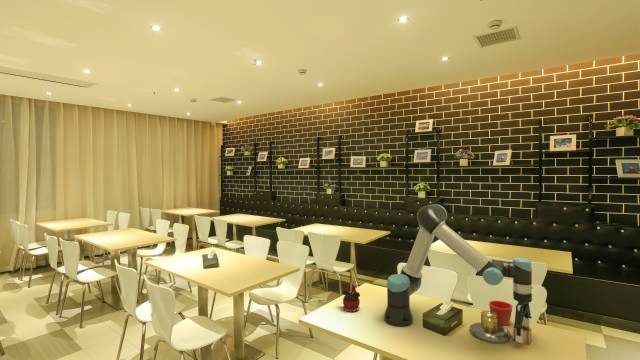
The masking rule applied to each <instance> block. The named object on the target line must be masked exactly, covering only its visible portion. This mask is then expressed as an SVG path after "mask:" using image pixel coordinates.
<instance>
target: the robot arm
mask: <svg viewBox="0 0 640 360" xmlns="http://www.w3.org/2000/svg"><path fill="white" fill-rule="evenodd" d="M447 218H448V212H447V210H446V209H445V207H444V206H442V205H440V204H437V203H432V204H429V205H425V206H422V207H421V208H420V209H419V210H418V211H417V213H416V219H417V222H418V226H419V230H418V233H417V234H416V238H415V240H414V244H413V247H411V248H412V249H411V252H410V254H409V256H408V259H407V262H406V265H404V266H402V268H401V270H400V273H395V274H391V275H390V276H388V278H387V281H386V282H387V283H386V289H387V291H386V295H387V299H386V300H387V301H386V302H387V304H386V308H385V312H384V315H383V318H384V319H383V320H384V322H385V321H386V322H385V323H386V324H388V325H392V326H395V327H400V328H401V327H402V328H403V327H409V326H411V325H412V324H414V316H413V313H412V310H411V307H410V305H411V304H410V300H411V299H410V296H412V295H413V294H414V293H415V292H417V291H418V290H419V289H420V288H421V285H422V278H423V273H422V270H423V267H424V265H425V262H426V260H427V257H428V254H429V251H430V250H431V246H432V245H433V241H434V239H435V237H436V238H437V239H439V241H441V242H442V243H443V244H444V245H445V246H446V247H448V248H449V249H450V250H451V251H453V252H454V253H455V254H456V255H458V257H459V258H461V259H462V260H463V261H464V262H465V263H467V264H468V265H469V266H470V267H471V268H473V270H475V271H476V272H477V273H479V274H480V275H481V276H482V278H483V280H484V282H485V283H486V284H488V285H490V286H498V285H500V283H502V281H503V280H504V278H510V279H512V293H513V294H512V296H513V297H512V298H513V300H514V301H516V302H517V304H516V305H515V314H514V315H515V316H514V323H513V324H514V325H512V326H513V327H514V328H515V332H516V340H515V342H516V343H520V344H522V343H523V329H522V325H524V326H528V327H529V328H530V329H531V324H530V323H531V322H530V319H532V318H533V317H532V315H531V314H532V313H531V309H530V303H531V302H532V301H533V293H532V292H533V291H532V289H534V287H533V286H532V282H533V281H532V280H533V269H532V261H531V260H530V259H528V258H523V257H514V258H513V259H512V261H507V260H498V259H493V258H492V259H489V258H488V257H486V256H485V255H483V254H482V253H481V252H480V251H479V250H478V249H476V247H474V246H472V245H471V244H470V243H469V242H468V241H467V240H465V239H464V238H463V237H462V236H461V235H459V234H458V233H457V232H455V231H454V230H453V229H452V228H451V227H449V226H448V225H447V224H446V221H447ZM408 325H409V326H408ZM517 325H518V326H517Z"/></svg>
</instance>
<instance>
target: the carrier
mask: <svg viewBox="0 0 640 360" xmlns="http://www.w3.org/2000/svg"><path fill="white" fill-rule="evenodd" d="M469 333H470V334H471V335H472V336H473V337H474V338H476V339H478V340H480V341H483V342H486V343H491V344H506V343H509V342H510V341H511V340H512V334H511V332H510V331H509V325H506V326H502V325H497V314H495V312H491V311H490V310H487V309H486V310H484V309H483V310H482V311H480V322H476V323H472V324H471V325H470V326H469Z"/></svg>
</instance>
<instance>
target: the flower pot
mask: <svg viewBox="0 0 640 360" xmlns="http://www.w3.org/2000/svg"><path fill="white" fill-rule="evenodd" d="M488 306H489V311H491V312H495V314H497V325H498V326H501V327H504V326H509V324H510V320H511V316H512V313H513V312H512V311H513V305H512V304H511V303H508V302H506V301H502V300H491V301H489V302H488Z"/></svg>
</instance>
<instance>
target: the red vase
mask: <svg viewBox="0 0 640 360" xmlns="http://www.w3.org/2000/svg"><path fill="white" fill-rule="evenodd" d="M349 281H350V282H349V283H350V285H349V288H348V289H343V290H342V294H343V295H344V296H343V298H342V304H343V306H342V309H343V308H344V309H345V310H344V309H343V310H344V311H345V312H349V311H350V312H351V311H353V312H358V311H359V310H360V305H361V304H360V298H359V297H361V294H360V293H359V291H357V289H356V288H357V287H358V286H359V284H358V283H354V284H353V279H352V278H350V279H349ZM356 310H357V311H356Z"/></svg>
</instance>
